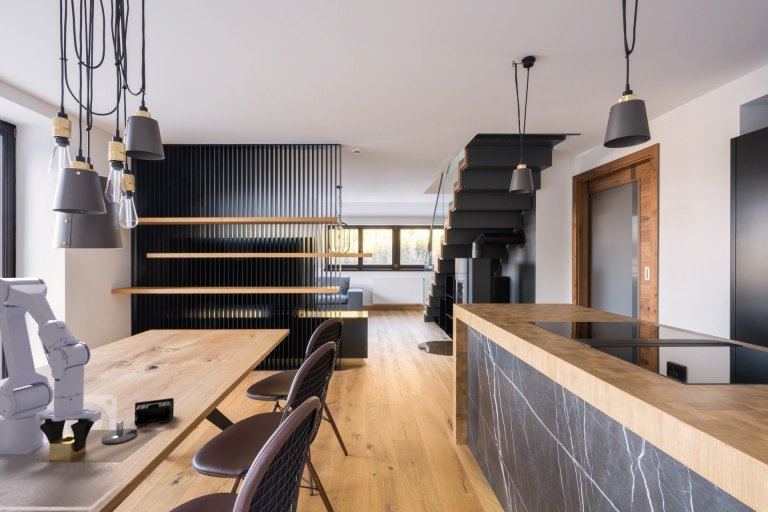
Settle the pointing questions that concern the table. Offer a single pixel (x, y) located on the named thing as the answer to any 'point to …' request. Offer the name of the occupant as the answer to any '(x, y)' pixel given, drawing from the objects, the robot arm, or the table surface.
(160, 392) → the table surface
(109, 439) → the stand
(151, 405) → the end cap
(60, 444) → the collar
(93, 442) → the board
